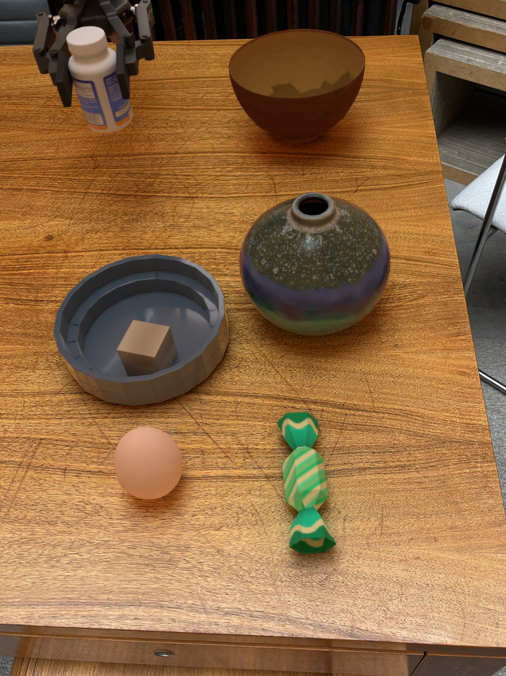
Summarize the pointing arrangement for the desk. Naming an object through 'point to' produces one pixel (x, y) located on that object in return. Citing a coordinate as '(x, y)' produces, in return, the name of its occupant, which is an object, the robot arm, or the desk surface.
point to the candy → (305, 484)
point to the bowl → (297, 81)
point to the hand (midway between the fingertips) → (93, 90)
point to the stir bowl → (147, 306)
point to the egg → (147, 463)
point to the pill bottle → (97, 80)
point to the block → (147, 348)
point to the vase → (314, 264)
